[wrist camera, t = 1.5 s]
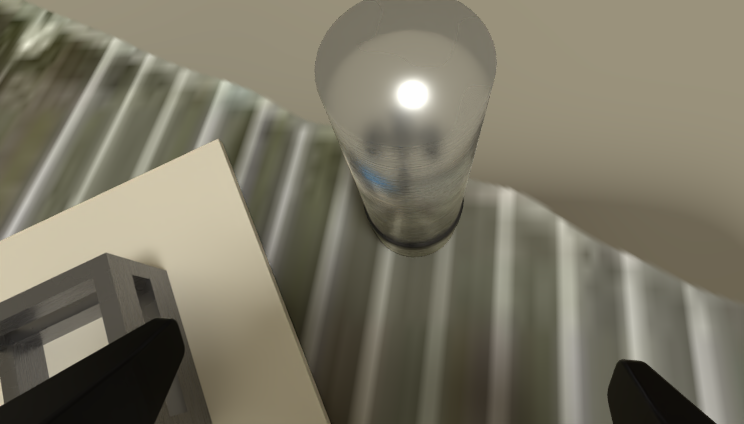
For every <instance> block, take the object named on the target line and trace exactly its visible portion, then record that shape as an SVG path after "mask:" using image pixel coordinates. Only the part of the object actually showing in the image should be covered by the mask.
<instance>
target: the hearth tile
mask: <svg viewBox="0 0 744 424" xmlns="http://www.w3.org/2000/svg"><path fill="white" fill-rule="evenodd" d="M104 253H109V254H113V255H116V256H119V257H123V258H126V259H129V260H133V261H136V262H139V263H143V264H146V265H150V266H153V267H156V268H160V269H163V270H166V271H167V274H168V277H169V281H170V284H171V287H172V291H173V294H174V297H175V301H176V304H177V307H178V311H179V314H180V317H181V320H182V324H183V327H184V330H185V334H186V337H187V340H188V344H189V347H190V350H191V354H192V357H193V360H194V364H195V367H196V370H197V374H198V377H199V380H200V384H201V387H202V390H203V394H204V397H205V400H206V404H207V407H208V410H209V414H210V417H211V420H212V424H331V423H330V420H329V418H328V415H327V413H326V410H325V407H324V405H323V402H322V400H321V397H320V394H319V392H318V389H317V387H316V384H315V381H314V379H313V376H312V374H311V371H310V368H309V366H308V363H307V361H306V358H305V355H304V353H303V350H302V348H301V345H300V343H299V340H298V337H297V335H296V332H295V330H294V327H293V324H292V322H291V319H290V317H289V314H288V311H287V309H286V306H285V304H284V301H283V298H282V296H281V293H280V291H279V288H278V285H277V283H276V280H275V278H274V275H273V273H272V270H271V267H270V265H269V262H268V260H267V257H266V254H265V252H264V249H263V247H262V244H261V241H260V239H259V236H258V234H257V231H256V228H255V226H254V223H253V221H252V218H251V215H250V213H249V210H248V208H247V205H246V203H245V200H244V197H243V195H242V192H241V190H240V187H239V184H238V182H237V179H236V177H235V174H234V171H233V169H232V166H231V164H230V161H229V158H228V156H227V153H226V151H225V148H224V146H223V143H222V142H221V141H220V140H219V139H217V140H215V141H213V142H210V143H208V144H206V145H204V146H202V147H200V148H198V149H196V150H193V151H191V152H189V153H187V154H185V155H183V156H181V157H178V158H176V159H174V160H172V161H170V162H168V163H166V164H164V165H161V166H159V167H157V168H155V169H153V170H151V171H149V172H146V173H144V174H142V175H140V176H138V177H136V178H134V179H132V180H129V181H127V182H125V183H123V184H121V185H119V186H117V187H114V188H112V189H110V190H108V191H106V192H104V193H102V194H100V195H97V196H95V197H93V198H91V199H89V200H87V201H85V202H82V203H80V204H78V205H76V206H74V207H72V208H70V209H68V210H65V211H63V212H61V213H59V214H57V215H55V216H53V217H51V218H48V219H46V220H44V221H42V222H40V223H38V224H36V225H33V226H31V227H29V228H27V229H25V230H23V231H21V232H19V233H16V234H14V235H12V236H10V237H8V238H6V239H4V240H1V241H0V302H2V301H4V300H7V299H9V298H11V297H13V296H15V295H17V294H19V293H21V292H23V291H26V290H28V289H30V288H32V287H34V286H36V285H38V284H40V283H42V282H45V281H47V280H49V279H51V278H53V277H55V276H57V275H59V274H61V273H64V272H66V271H68V270H70V269H72V268H74V267H76V266H78V265H80V264H83V263H85V262H87V261H89V260H91V259H93V258H95V257H97V256H100V255H102V254H104ZM141 312H142V311H141ZM144 323H145V322H144ZM108 344H109V343H108V339H107V335H106V331H105V327H104V322H103V318H102V317H101V318H99V319H97V320H95V321H93V322H91V323H89V324H87V325H84V326H82V327H80V328H78V329H76V330H74V331H72V332H70V333H68V334H66V335H63V336H61V337H59V338H57V339H55V340H53V341H51V342H49V343H47V344H45V345H43V347H44V353H45V358H46V363H47V369H48V374H49V378H50V377H52V376H54V375H56V374H57V373H59V372H61V371H63V370H64V369H66V368H68V367H70V366H71V365H73V364H75V363H77V362H78V361H80V360H82V359H84V358H85V357H87V356H89V355H91V354H92V353H94V352H96V351H98V350H99V349H101V348H103V347H105V346H106V345H108ZM3 404H4V400H3V394H2V387H1V380H0V406H1V405H3ZM166 404H167V403H166ZM169 415H170V414H169Z"/></svg>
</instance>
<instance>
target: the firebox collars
mask: <svg viewBox="0 0 744 424" xmlns="http://www.w3.org/2000/svg"><path fill="white" fill-rule="evenodd" d="M141 311H142V312H141ZM101 317H102V318H103V322H104V327H105V331H106V335H107V339H108V343H109V344H110V343H112V342H113V341H115V340H117V339H119V338H120V337H122V336H124V335H126V334H127V333H129V332H131V331H133V330H134V329H136V328H138V327H140V326H141V325H143V324H145V323H147V322H148V321H150V320H152V319H154V318H156V317H165V318H173V319H175V320H176V321H177V322H178V324H179V327H180V331H181V334H182V338H183V341H184V344H185V354H184V357H183V360H182V362H181V364H180V367H179V369H178V371H177V374H176V376H175V378H174V381H173V383H172V385H171V388H170V390H169V392H168V395H167V397H166V399H165V402H164V404H163V406H162V409H161V411H160V413H159V415H158V418H157V420H156V422H155V424H212V420H211V417H210V414H209V410H208V407H207V404H206V400H205V397H204V394H203V390H202V387H201V384H200V380H199V377H198V374H197V370H196V367H195V364H194V360H193V357H192V354H191V350H190V347H189V344H188V340H187V337H186V334H185V330H184V327H183V324H182V320H181V317H180V314H179V311H178V307H177V304H176V301H175V297H174V294H173V291H172V287H171V284H170V281H169V277H168V274H167V271H166V270H163V269H160V268H156V267H153V266H150V265H146V264H143V263H139V262H136V261H133V260H129V259H126V258H123V257H119V256H116V255H113V254H109V253H104V254H102V255H100V256H97V257H95V258H93V259H91V260H89V261H87V262H85V263H83V264H80V265H78V266H76V267H74V268H72V269H70V270H68V271H66V272H64V273H61V274H59V275H57V276H55V277H53V278H51V279H49V280H47V281H45V282H42V283H40V284H38V285H36V286H34V287H32V288H30V289H28V290H26V291H23V292H21V293H19V294H17V295H15V296H13V297H11V298H9V299H7V300H4V301H2V302H0V380H1V387H2V394H3V400H4V404H5V403H7V402H8V401H10V400H12V399H14V398H15V397H17V396H19V395H21V394H22V393H24V392H26V391H28V390H29V389H31V388H33V387H35V386H36V385H38V384H40V383H42V382H43V381H45V380H47V379H49V374H48V369H47V363H46V358H45V353H44V347H43V345H45V344H47V343H49V342H51V341H53V340H55V339H57V338H59V337H61V336H63V335H66V334H68V333H70V332H72V331H74V330H76V329H78V328H80V327H82V326H84V325H87V324H89V323H91V322H93V321H95V320H97V319H99V318H101ZM144 322H145V323H144ZM166 403H167V404H166ZM169 414H170V415H169Z"/></svg>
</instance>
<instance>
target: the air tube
mask: <svg viewBox="0 0 744 424" xmlns="http://www.w3.org/2000/svg"><path fill="white" fill-rule="evenodd" d="M496 63H497V62H496V51H495V47H494V43H493V40H492V38H491V35H490V33H489V31H488V29H487V28H486V26H485V24H484V23H483V22H482V21H481V20H480V18H479V17H478V16H477V15H476V14H475V13H474V12H473V11H472V10H471V9H469V8H468V7H467V6H465V5H464V4H462V3H461V2H459V1H457V0H363V1H362V2H360V3H358V4H356V5H355V6H353V7H352V8H350V9H349V10H347V11H346V12H345V13H344V14H343V15H341V16H340V17H339V18H338V20H336V21H335V23H334V24H333V25H332V26H331V27H330V29H329V30H328V31H327V33H326V35H325V37H324V38H323V40H322V42H321V44H320V47H319V50H318V53H317V57H316V61H315V82H316V86H317V90H318V93H319V96H320V98H321V101H322V103H323V105H324V108H325V110H326V113H327V115H328V117H329V120H330V123H331V125H332V127H333V130H334V132H335V135H336V137H337V139H338V142H339V144H340V147H341V149H342V152H343V154H344V156H345V159H346V161H347V164H348V166H349V168H350V171H351V173H352V176H353V178H354V181H355V183H356V185H357V188H358V190H359V193H360V195H361V197H362V200H363V202H364V208H365V212H366V215H367V218H368V220H369V222H370V224H371V226H372V228H373V230H374V231H375V232H376V234H377V236H378V237H379V239H380V240H381V242H382V243H383V244H384V245H385V246H386V247H387V248H389V249H390V250H391V251H393V252H395V253H397V254H400V255H403V256H407V257H422V256H426V255H430V254H432V253H434V252H436V251H438V250H439V249H441V248H442V247H443V246H444V245H445V244H446V243H447V242H448V241H449V239H450V238H451V236H452V235H453V232H454V230H455V228H456V226H457V224H458V222H459V219H460V216H461V213H462V209H463V202H464V197H463V196H464V193H465V189H466V185H467V181H468V177H469V174H470V170H471V166H472V162H473V158H474V155H475V151H476V147H477V143H478V139H479V135H480V131H481V128H482V124H483V120H484V117H485V113H486V109H487V105H488V101H489V98H490V94H491V90H492V86H493V82H494V78H495V73H496Z"/></svg>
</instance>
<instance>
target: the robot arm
mask: <svg viewBox="0 0 744 424" xmlns="http://www.w3.org/2000/svg"><path fill="white" fill-rule="evenodd" d="M184 354H185V344H184V341H183V338H182V334H181V331H180V327H179V324H178V322H177V321H176V320H175V319H173V318H165V317H156V318H154V319H152V320H150V321H148V322H147V323H145V324H143V325H141V326H140V327H138V328H136V329H134V330H133V331H131V332H129V333H127V334H126V335H124V336H122V337H120V338H119V339H117V340H115V341H113V342H112V343H110V344H108V345H106V346H105V347H103V348H101V349H99V350H98V351H96V352H94V353H92V354H91V355H89V356H87V357H85V358H84V359H82V360H80V361H78V362H77V363H75V364H73V365H71V366H70V367H68V368H66V369H64V370H63V371H61V372H59V373H57V374H56V375H54V376H52V377H50V378H49V379H47V380H45V381H43V382H42V383H40V384H38V385H36V386H35V387H33V388H31V389H29V390H28V391H26V392H24V393H22V394H21V395H19V396H17V397H15V398H14V399H12V400H10V401H8V402H7V403H5V404H3V405H1V406H0V424H155V422H156V420H157V418H158V415H159V413H160V411H161V409H162V406H163V404H164V402H165V399H166V397H167V395H168V392H169V390H170V388H171V385H172V383H173V381H174V378H175V376H176V374H177V371H178V369H179V367H180V364H181V362H182V360H183V357H184ZM607 396H608V403H609V408H610V412H611V417H612V421H613V424H716V423H715V422H714V421H713V420H711V419H710V418H709V417H708V416H707V415H706V414H704V413H703V412H702V411H701V410H700V409H699V408H698V407H696V406H695V405H694V404H693V403H692V402H691V401H689V400H688V399H687V398H686V397H685V396H684V395H682V394H681V393H680V392H679V391H678V390H677V389H675V388H674V387H673V386H672V385H671V384H670V383H668V382H667V381H666V380H665V379H664V378H663V377H661V376H660V375H659V374H658V373H657V372H656V371H655V370H653V369H652V368H651V367H650V366H649V365H647V364H646V363H644V362H642V361H637V360H626V359H622V360H619V361H618V362H617V364H616V367H615V369H614V372H613V375H612V378H611V381H610V384H609V387H608V393H607Z"/></svg>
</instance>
